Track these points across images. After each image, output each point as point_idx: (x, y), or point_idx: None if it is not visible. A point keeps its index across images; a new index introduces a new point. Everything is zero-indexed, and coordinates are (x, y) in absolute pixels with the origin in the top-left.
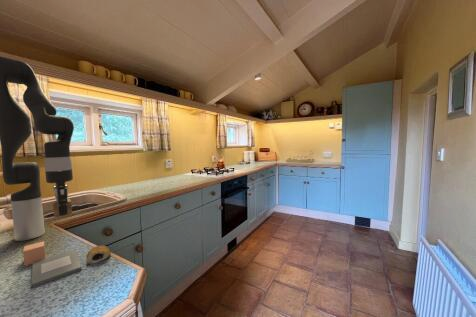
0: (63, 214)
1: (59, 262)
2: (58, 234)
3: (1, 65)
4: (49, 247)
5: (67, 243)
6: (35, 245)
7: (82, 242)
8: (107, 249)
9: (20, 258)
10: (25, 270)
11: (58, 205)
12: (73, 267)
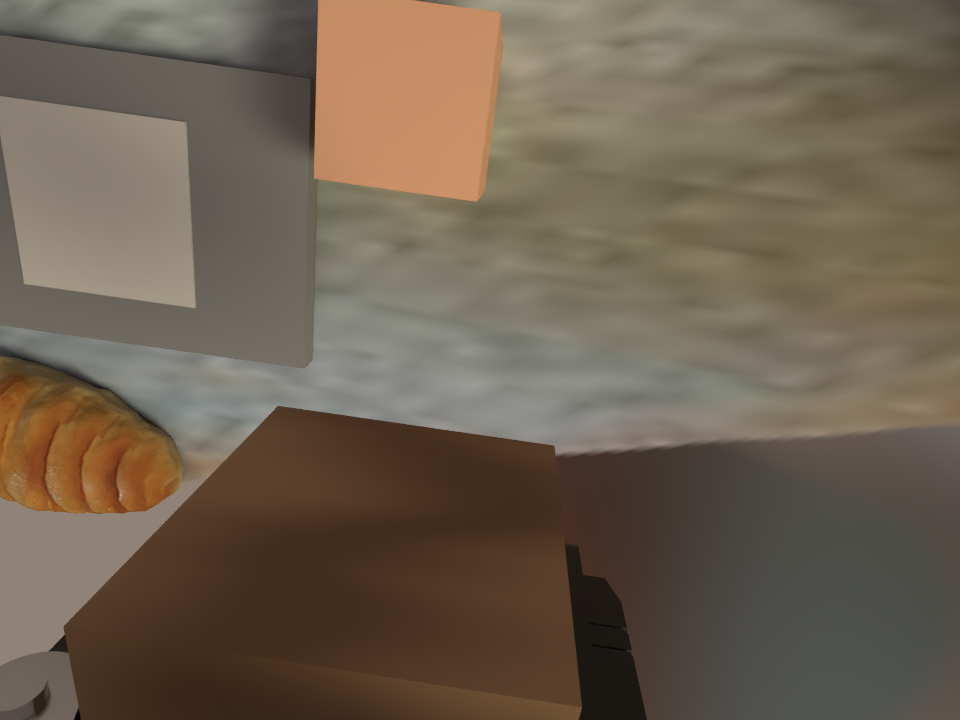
0: None
1: (109, 228)
2: (935, 369)
3: None
4: (626, 244)
5: (571, 364)
6: (410, 113)
7: None
8: (6, 499)
9: (589, 13)
10: (249, 20)
11: (7, 663)
12: None
